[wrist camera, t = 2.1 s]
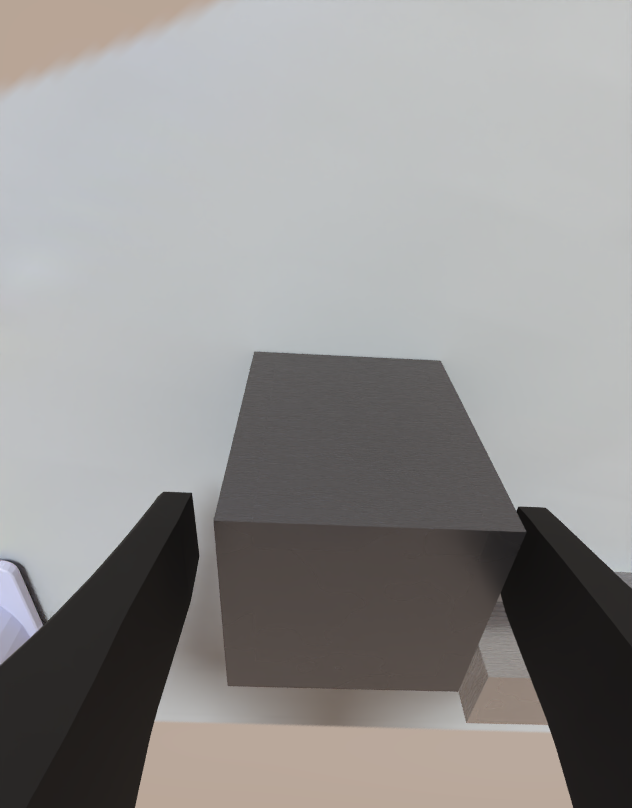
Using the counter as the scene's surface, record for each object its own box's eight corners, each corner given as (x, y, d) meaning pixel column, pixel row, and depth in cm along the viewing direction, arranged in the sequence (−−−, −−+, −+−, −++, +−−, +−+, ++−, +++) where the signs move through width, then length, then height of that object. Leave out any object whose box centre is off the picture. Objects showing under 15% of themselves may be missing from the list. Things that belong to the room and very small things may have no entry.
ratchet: (391, 630, 19) (408, 744, 16) (417, 528, 16) (445, 644, 13) (742, 640, 20) (832, 752, 16) (834, 544, 17) (971, 659, 13)
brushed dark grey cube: (256, 491, 15) (227, 685, 10) (254, 351, 12) (214, 520, 7) (410, 497, 15) (458, 691, 10) (440, 360, 13) (526, 532, 8)
